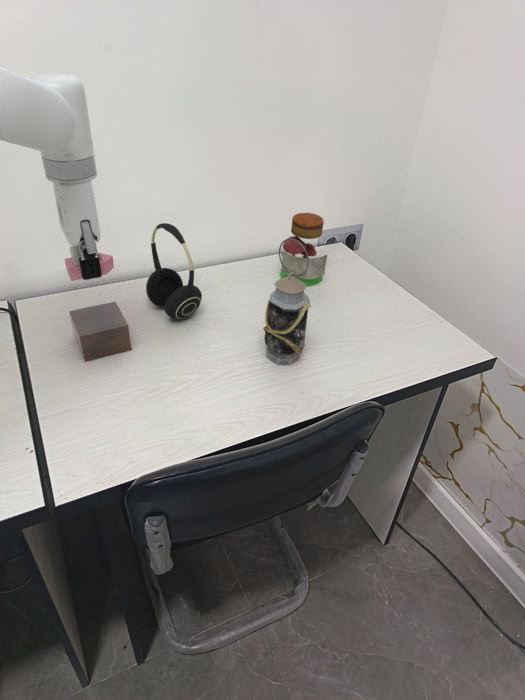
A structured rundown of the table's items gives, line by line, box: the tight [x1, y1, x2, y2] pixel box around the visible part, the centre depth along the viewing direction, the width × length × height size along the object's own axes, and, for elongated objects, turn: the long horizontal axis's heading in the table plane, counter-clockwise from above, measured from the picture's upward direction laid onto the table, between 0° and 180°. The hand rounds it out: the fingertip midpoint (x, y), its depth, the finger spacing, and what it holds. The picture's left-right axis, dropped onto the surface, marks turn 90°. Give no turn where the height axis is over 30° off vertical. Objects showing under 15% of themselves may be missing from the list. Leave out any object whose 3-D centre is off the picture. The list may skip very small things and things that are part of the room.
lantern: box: [263, 237, 311, 366], centre depth 91 cm, size 9×8×25 cm
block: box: [68, 301, 132, 363], centre depth 96 cm, size 9×9×6 cm
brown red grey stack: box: [279, 212, 328, 287], centre depth 120 cm, size 12×13×15 cm
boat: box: [64, 245, 115, 282], centre depth 86 cm, size 8×4×5 cm, turn 118°
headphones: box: [145, 222, 203, 320], centre depth 102 cm, size 9×15×20 cm, turn 41°
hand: (89, 270), depth 87 cm, fingers closed on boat, 3 cm apart
